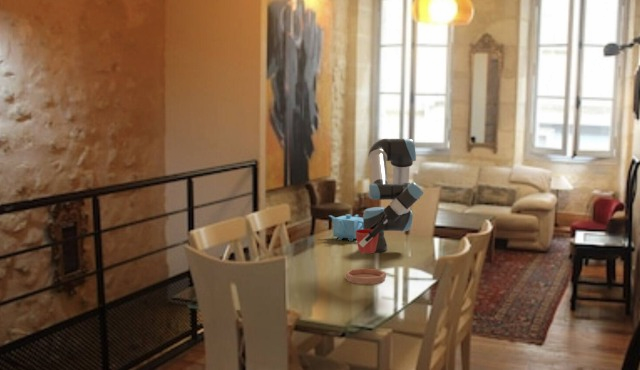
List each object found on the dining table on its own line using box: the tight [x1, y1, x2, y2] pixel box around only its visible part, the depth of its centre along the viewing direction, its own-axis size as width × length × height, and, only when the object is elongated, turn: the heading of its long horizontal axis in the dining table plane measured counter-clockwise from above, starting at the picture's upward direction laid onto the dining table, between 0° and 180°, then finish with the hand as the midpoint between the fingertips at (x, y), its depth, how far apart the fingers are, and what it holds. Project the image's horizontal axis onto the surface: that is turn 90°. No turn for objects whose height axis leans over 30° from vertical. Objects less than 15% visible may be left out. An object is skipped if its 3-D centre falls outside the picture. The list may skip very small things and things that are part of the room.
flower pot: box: [356, 229, 379, 254], centre depth 317 cm, size 11×11×10 cm
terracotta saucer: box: [344, 267, 387, 285], centre depth 316 cm, size 18×18×3 cm
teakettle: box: [329, 213, 363, 242], centre depth 405 cm, size 19×19×15 cm
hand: (360, 242), depth 318 cm, fingers closed on flower pot, 10 cm apart
